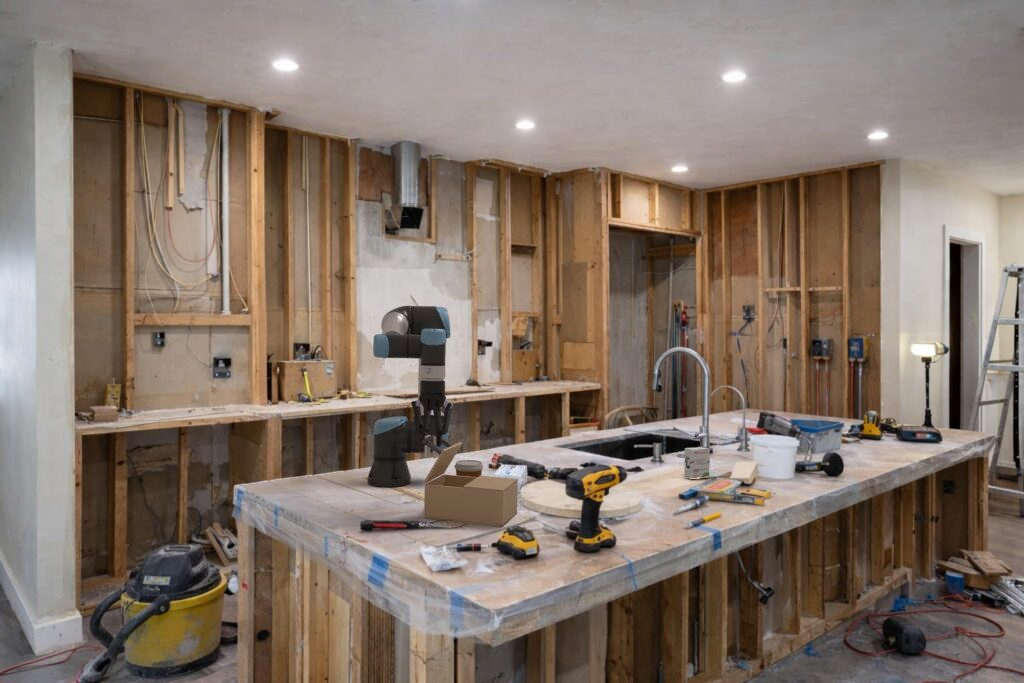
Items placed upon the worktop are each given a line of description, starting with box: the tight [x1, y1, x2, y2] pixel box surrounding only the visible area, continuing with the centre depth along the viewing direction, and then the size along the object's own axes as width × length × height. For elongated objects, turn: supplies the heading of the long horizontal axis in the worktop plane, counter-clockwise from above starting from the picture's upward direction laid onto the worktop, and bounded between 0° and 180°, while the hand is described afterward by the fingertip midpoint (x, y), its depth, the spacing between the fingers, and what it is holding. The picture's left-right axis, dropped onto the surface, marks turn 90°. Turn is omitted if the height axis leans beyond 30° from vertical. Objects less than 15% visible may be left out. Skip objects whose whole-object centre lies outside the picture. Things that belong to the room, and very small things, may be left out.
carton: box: [423, 473, 519, 528], centre depth 204 cm, size 15×24×11 cm, turn 74°
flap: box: [422, 435, 463, 484], centre depth 207 cm, size 15×12×8 cm
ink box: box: [683, 446, 711, 479], centre depth 264 cm, size 9×5×12 cm, turn 112°
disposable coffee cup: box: [454, 459, 484, 477], centre depth 224 cm, size 10×10×12 cm
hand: (431, 457), depth 207 cm, fingers closed on flap, 2 cm apart
